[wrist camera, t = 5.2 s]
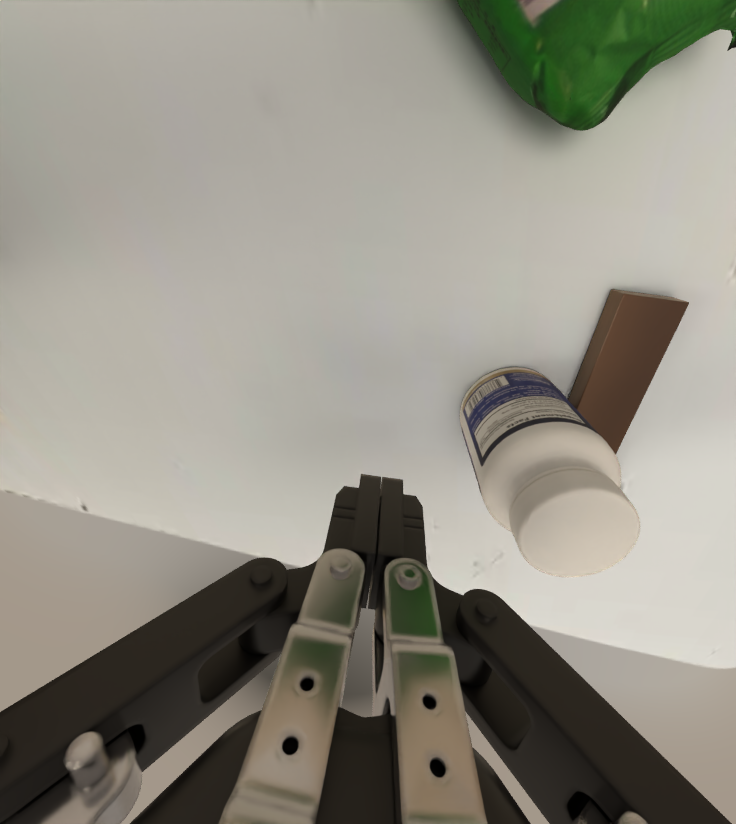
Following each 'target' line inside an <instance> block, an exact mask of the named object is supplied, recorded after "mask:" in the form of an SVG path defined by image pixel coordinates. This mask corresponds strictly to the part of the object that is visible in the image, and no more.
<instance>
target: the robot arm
mask: <svg viewBox="0 0 736 824" xmlns="http://www.w3.org/2000/svg"><path fill="white" fill-rule="evenodd" d="M380 485H381V488H380ZM369 588H370V592H369ZM368 593H369V605H368V608H369V609H375V623H374V628H373V634H372V649H373V650H372V651H373V652H372V655H373V711H372V717H366V718H365V717H360V716H358V715H356V714H353V713H351V712H349V711H347V710H345V709H343V708H341V703H342V697H343V692H344V686H345V682H346V676H347V671H348V666H349V660H350V655H351V649H352V644H353V639H354V634H355V630H356V628H357V626H358V623H359V617H360V611H361V608H366V605H367V599H368ZM281 652H282V653H281ZM280 654H281V656H280V659H279V662H278V665H277V667H276V670H275V673H274V676H273V679H272V682H271V685H270V688H269V690H268V694H267V696H266V699H265V702H264V705H263V708H262V710H261V711H258V712H256V713H254V714H251V715H249V716H247V717H246V718H244V719H242V720H241V721H239V722H238V723H236V724H235V725H234V726H233V727H231V728H229V729H228V730H227V731H226V732H225V733H224V734H223V735H222V736H221V737H219V738H218V740H216V741H215V742H214V743H213V744H212V745H211V746H210V747H209V748H208V749H207V750H206V751H205V752H204V753H203V754H202V755H201V756H200V757H199V758H198V759H197V760H196V761H194V762H193V763H192V764H191V765H190V766H189V767H188V768H187V769H186V770H185V771H184V772H183V773H182V774H181V775H180V776H179V777H178V778H177V779H176V780H175V781H174V782H173V783H172V784H170V785H169V787H167V788H166V789H165V790H164V791H163V792H162V793H161V794H160V795H159V796H158V797H157V798H156V799H155V800H154V801H153V802H152V803H151V804H150V805H149V806H147V807H146V808H145V809H144V810H143V811H142V812H141V813H140V814H139V815H138V816H137V817H136V818H135V819H134V820H133V821H132V822H131V823H130V824H530V822H529V821H528V819H527V818H526V816H525V815H524V814H523V812H522V810H521V809H520V808H519V806H518V805H517V803H516V802H515V800H514V799H513V797H512V796H511V795H510V793H509V791H508V790H507V789H506V787H505V786H504V784H503V783H502V781H501V780H500V778H499V777H498V775H497V774H496V773H495V771H494V770H493V769H492V767H491V766H490V765H489V764H488V763H487V761H486V760H485V759H484V758H483V757H482V756H481V755H480V754H479V753H478V752H477V751H476V750H475V749H474V748H472V743H471V738H470V734H469V728H468V723H467V718H466V713H465V711H466V712H467V714H468V715H469V716H470V718H471V719H472V720H473V722H474V723H475V724H476V726H477V727H478V728H479V730H480V731H481V732H482V734H483V735H484V736H485V738H486V739H487V740H488V742H489V743H490V744H491V746H492V747H493V748H494V750H495V751H496V752H497V754H498V755H499V756H500V758H501V759H502V760H503V762H504V763H505V765H506V766H507V767H508V769H509V770H510V771H511V773H512V774H513V775H514V776H515V778H516V779H517V781H518V782H519V783H520V785H521V786H522V787H523V789H524V790H525V791H526V793H527V794H528V795H529V797H530V798H531V799H532V801H533V802H534V803H535V805H536V806H537V807H538V809H539V810H540V811H541V813H542V814H543V815H544V817H545V818H546V819H547V821H548V822H549V823H550V824H732V823H730V822H729V821H728V820H727V819H726V818H725V817H724V816H723V815H722V814H721V813H720V812H719V811H718V810H717V809H716V808H715V807H714V806H713V805H712V804H711V803H710V802H709V801H708V800H707V799H706V798H705V797H704V796H703V795H702V794H701V793H700V792H699V791H698V790H697V789H696V788H695V787H694V786H693V785H691V783H689V781H687V780H686V779H685V778H684V777H683V776H682V775H681V774H680V773H679V772H678V771H677V770H676V769H675V768H674V767H673V766H672V765H671V764H670V763H669V762H668V761H667V760H666V759H665V758H664V757H663V756H662V755H661V754H660V753H659V752H658V751H657V750H656V749H655V748H654V747H653V746H652V745H651V744H650V743H649V742H648V741H647V740H645V738H643V737H642V736H641V735H640V734H639V733H638V732H637V731H636V730H635V729H634V728H633V727H632V726H631V725H630V724H629V723H628V722H627V721H626V720H625V719H624V718H623V717H622V716H621V715H620V714H619V713H618V712H617V711H616V710H615V709H614V708H613V707H612V706H611V705H610V704H609V703H608V702H607V701H605V699H604V698H602V697H601V696H600V695H599V694H598V693H597V692H596V691H595V690H594V689H593V688H592V687H591V686H590V685H589V684H588V683H587V682H586V681H585V680H584V679H583V678H582V677H581V676H580V675H579V674H578V673H577V672H576V671H575V670H574V669H573V668H572V667H571V666H570V665H569V664H568V663H567V662H566V661H565V660H564V659H562V658H561V657H560V655H558V653H556V652H555V651H554V650H553V649H552V648H551V647H550V646H549V645H548V644H547V643H546V642H545V641H544V640H543V639H542V638H541V637H540V636H539V635H538V634H537V633H536V632H535V631H534V630H533V629H532V628H531V627H530V626H529V625H528V624H527V623H526V622H525V621H524V620H523V619H522V618H521V617H520V616H519V615H518V614H517V613H516V612H515V611H514V610H512V609H511V608H510V607H509V606H508V605H507V604H506V603H505V602H504V601H503V600H502V599H501V598H500V597H498V596H497V595H496V594H494V593H492V592H489V591H487V590H483V589H473V590H470V591H468V592H466V593H465V594H464V595H460V594H458V593H456V592H453V591H451V590H449V589H447V588H445V587H443V586H442V585H440V584H439V583H438V582H437V581H436V580H435V579H434V578H433V577H432V575H431V573H430V571H429V570H428V567H427V560H426V546H425V533H424V520H423V507H422V505H421V504H420V502H419V500H418V499H417V497H416V496H411V495H404V494H403V480H401V479H394V478H387V477H382V482H381V477H379V476H372V475H365V474H361V478H360V485H359V488H354V487H347V486H344V487H343V488H342V489H341V490H340V491H339V493H338V494H337V495H336V499H335V503H334V508H333V512H332V517H331V521H330V525H329V530H328V534H327V539H326V543H325V548H324V551H323V553H322V555H321V556H320V558H319V559H318V560H317V561H315V562H314V563H312V564H311V565H308V566H306V567H302V568H297V569H289V570H286V568H285V566H284V565H283V564H282V563H281V562H279V561H277V560H275V559H272V558H257V559H254V560H251V561H249V562H247V563H245V564H244V565H242V566H240V567H239V568H237V569H235V570H234V571H232V572H231V573H229V574H227V575H226V576H224V577H222V578H221V579H219V580H217V581H216V582H214V583H212V584H211V585H209V586H207V587H206V588H204V589H202V590H201V591H199V592H198V593H196V594H194V595H193V596H191V597H189V598H188V599H186V600H185V601H183V602H181V603H179V604H178V605H176V606H175V607H173V608H171V609H169V610H168V611H166V612H165V613H163V614H161V615H160V616H158V617H156V618H155V619H153V620H151V621H150V622H148V623H146V624H145V625H143V626H142V627H140V628H138V629H137V630H135V631H133V632H131V633H130V634H128V635H127V636H125V637H123V638H122V639H120V640H118V641H117V642H115V643H113V644H112V645H110V646H108V647H107V648H105V649H103V650H102V651H100V652H99V653H97V654H95V655H94V656H92V657H90V658H89V659H87V660H85V661H84V662H82V663H80V664H79V665H77V666H75V667H74V668H72V669H70V670H69V671H67V672H66V673H64V674H62V675H61V676H59V677H57V678H56V679H54V680H52V681H51V682H49V683H47V684H46V685H44V686H43V687H41V688H39V689H38V690H36V691H35V692H33V693H31V694H29V695H28V696H26V697H24V698H23V699H21V700H19V701H18V702H16V703H14V704H13V705H11V706H10V707H8V708H6V709H5V710H3V711H1V712H0V824H120V823H121V822H122V821H123V820H124V819H125V818H126V816H127V815H128V814H129V812H130V811H131V809H132V808H133V806H134V804H135V802H136V800H137V798H138V795H139V792H140V789H141V783H142V772H143V771H144V770H145V769H146V768H147V767H149V766H150V765H151V764H152V763H154V762H155V761H156V760H157V759H158V758H159V757H161V756H162V755H163V754H164V753H165V752H167V751H168V750H169V749H170V748H171V747H172V746H174V745H175V744H176V743H177V742H178V741H179V740H181V739H182V738H183V737H184V736H185V735H186V734H188V733H189V732H190V731H191V730H192V729H194V728H195V727H196V726H197V725H198V724H200V723H201V722H202V721H203V720H204V719H205V718H207V717H208V716H209V715H210V714H211V713H213V712H214V711H215V710H216V709H217V708H218V707H220V706H221V705H222V704H223V703H224V702H226V701H227V700H228V699H229V698H230V697H231V696H233V695H234V694H235V693H236V692H237V691H239V690H240V689H241V688H242V687H243V686H244V685H246V684H247V683H248V682H249V681H250V680H252V679H253V678H254V677H255V676H256V675H257V674H259V673H260V672H261V671H262V670H263V669H264V668H266V667H267V666H268V665H269V664H270V663H272V662H273V661H274V660H275V659H276V658H277V657H278V656H279V655H280Z"/></svg>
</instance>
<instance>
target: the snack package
mask: <svg viewBox="0 0 736 824" xmlns="http://www.w3.org/2000/svg"><path fill="white" fill-rule="evenodd" d="M457 2H458V4H459V6H460V8H461V9H462V11H463V13H464V14H465V16H466V17H467V19H468V20H469V21H470V23H471V24H472V26H473V28H474V29H475V31H476V33H477V34H478V36H479V38H480V39H481V41H482V42H483V44H484V45H485V47H486V49H487V50H488V52H489V53H490V55H491V57H492V58H493V60H494V62H495V63H496V65H497V67H498V68H499V70H500V72H501V74H502V75H503V77H504V79H505V80H506V81H507V83H508V84H509V85H510V87H511V88H512V89H513V90H514V91H515V92H516V93H517V94H518V95H519V96H520V97H521V98H522V99H523V100H524V101H526V102H527V103H528V104H530V105H532V106H533V107H535V108H537V109H539V110H541V111H542V112H544V113H545V114H547V115H548V116H550V117H551V118H552V119H554V120H555V121H557V122H558V123H559V124H561V125H563V126H566V127H569V128H572V129H575V130H588V129H591V128H593V127H595V126H597V125H598V124H600V123H602V122H603V121H604V120H605V119H606V118H607V117H608V116H609V115H610V114H611V112H612V111H613V110H614V108H615V107H616V106H617V104H618V103H619V101H620V100H621V99H622V98H623V97H624V95H625V94H626V93H627V92H628V91H629V90H630V89H631V88H632V87H633V86H634V85H635V84H636V83H637V82H638V81H639V80H640V79H641V78H642V77H643V76H644V75H645V74H646V73H647V72H648V71H649V70H650V69H651V68H653V67H654V66H656V65H657V64H659V63H661V62H662V61H665V60H667V59H669V58H671V57H673V56H675V55H676V54H677V53H679V52H680V51H682V50H683V49H685V48H686V47H688V46H690V45H691V44H693V43H694V42H696V41H697V40H699V39H700V38H702V37H704V36H706V35H708V34H710V33H712V32H714V31H716V30H719V29H724V30H731V33H732V37H733V38H732V40H731V43H730V46H729V48H728V50H730V49H731V48H735V47H736V0H457Z"/></svg>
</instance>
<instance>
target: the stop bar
mask: <svg viewBox="0 0 736 824" xmlns="http://www.w3.org/2000/svg"><path fill="white" fill-rule="evenodd" d="M688 304H689V302H686V301H683V300H680V299H677V298H673V297H667V296H659V295H652V294H644V293H637V292H630V291H622V290H615V289H611V291H610V294H609V297H608V299H607V302H606V304H605V307H604V309H603V312H602V315H601V317H600V320H599V322H598V325H597V327H596V330H595V332H594V335H593V338H592V340H591V343H590V345H589V348H588V350H587V353H586V356H585V358H584V361H583V363H582V366H581V368H580V371H579V373H578V376H577V379H576V381H575V384H574V386H573V389H572V391H571V394H570V397H569V399H568V401H569V402H570V403H571V404H572V405H573V406H574V407H575V408H576V409H577V410H578V412H579V413H580V414H581V415H582V416H583V417H584V418H585V419H586V420H587V421H588V422H589V423H590V425H591V426H592V427H593V428H594V429H595V430H596V431H597V432H598V433H599V434H600V435H601V436H602V438H603V439H604V440H605V441H606V442H607V443H608V445H609V446H610V447H611V449H612V450H613V451H614V453H615V455H616V453H617V451H618V449H619V447H620V445H621V442H622V440H623V438H624V436H625V434H626V432H627V430H628V428H629V426H630V424H631V422H632V420H633V418H634V416H635V414H636V412H637V409H638V407H639V405H640V403H641V401H642V399H643V397H644V395H645V393H646V391H647V389H648V387H649V385H650V383H651V381H652V379H653V377H654V374H655V372H656V370H657V368H658V366H659V364H660V362H661V360H662V358H663V356H664V354H665V352H666V350H667V348H668V346H669V344H670V341H671V339H672V337H673V335H674V333H675V331H676V329H677V327H678V325H679V323H680V321H681V319H682V317H683V315H684V313H685V311H686V309H687V306H688Z"/></svg>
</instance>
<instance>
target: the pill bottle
mask: <svg viewBox="0 0 736 824" xmlns="http://www.w3.org/2000/svg"><path fill="white" fill-rule="evenodd" d="M460 423H461V428H462V432H463V436H464V439H465V442H466V446H467V449H468V452H469V455H470V458H471V462H472V465H473V468H474V472H475V475H476V478H477V481H478V485H479V489H480V492H481V495H482V497H483V500H484V503H485V505H486V507H487V509H488V511H489V512H490V514H491V515H492V517H493V518H494V519H495V520H496V521H497V522H498V523H499V524H500V525H502V526H503V527H504V528H506V529H507V530H509V531H511V532H512V533H513V536H514V537H515V540H516V542H517V545H518V547H519V550H520V552H521V554H522V555H523V557H524V558H525V560H526V561H527V562H528V563H529V564H530V565H532V566H533V567H534V568H536V569H537V570H539V571H541V572H543V573H546V574H549V575H554V576H559V577H580V576H586V575H591V574H595V573H598V572H601V571H603V570H606V569H608V568H610V567H611V566H613V565H615V564H616V563H618V562H619V561H621V560H622V559H623V558H624V557H626V555H627V554H628V553H629V552H630V551H631V549H632V548H633V547H634V545H635V543H636V541H637V539H638V536H639V533H640V520H639V516H638V513H637V511H636V509H635V508H634V506H633V505H632V504H631V502H630V501H629V500H628V498H627V497H626V496H625V494H624V493H623V492H622V490H621V489H620V486H621V470H620V464H619V462H618V459H617V457H616V455H615V453H614V451H613V450H612V449H611V447H610V446H609V445H608V443H607V442H606V441H605V440H604V439H603V438H602V436H601V435H600V434H599V433H598V432H597V431H596V430H595V429H594V428H593V427H592V426H591V425H590V423H589V422H588V421H587V420H586V419H585V418H584V417H583V416H582V415H581V414H580V413H579V412H578V410H577V409H576V408H575V407H574V406H573V405H572V404H571V403H570V402H569V401H568V400H567V398H566V397H565V396H564V395H563V394H562V393H561V392H560V391H559V390H558V389H557V388H556V387H555V385H554V384H553V383H551V382H550V381H549V380H548V379H547V378H546V377H545V376H543V375H542V374H540V373H538V372H536V371H533V370H530V369H526V368H518V367H513V368H504V369H500V370H496V371H493V372H491V373H489V374H487V375H485V376H484V377H482V378H481V379H479V380H478V381H477V382H476V383H475V384H474V385H473V386H472V387H471V388H470V389H469V390H468V392H467V393H466V395H465V397H464V399H463V402H462V405H461V409H460Z"/></svg>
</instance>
